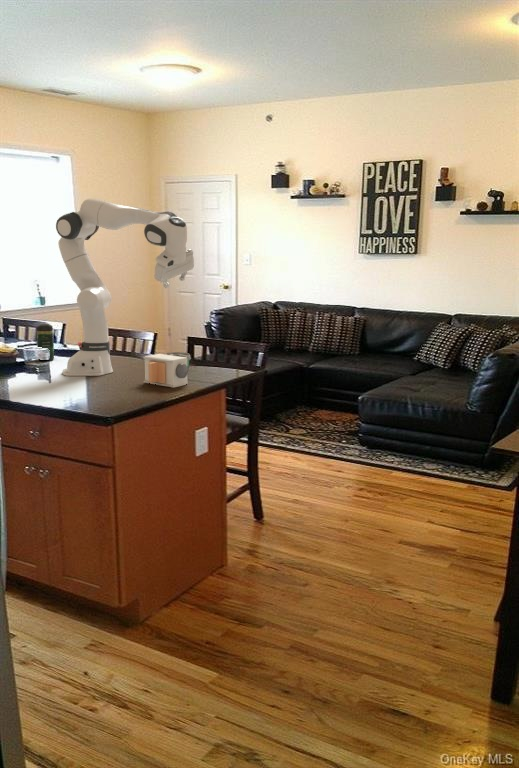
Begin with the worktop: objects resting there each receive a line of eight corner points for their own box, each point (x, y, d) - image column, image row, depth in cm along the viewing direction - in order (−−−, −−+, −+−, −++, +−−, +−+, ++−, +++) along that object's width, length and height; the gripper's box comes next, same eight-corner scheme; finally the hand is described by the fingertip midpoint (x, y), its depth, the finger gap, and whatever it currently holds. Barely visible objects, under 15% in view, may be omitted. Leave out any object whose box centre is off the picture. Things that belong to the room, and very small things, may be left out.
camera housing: (143, 383, 276) (143, 356, 274) (159, 379, 284) (159, 353, 282) (174, 388, 266) (174, 361, 264) (190, 384, 274) (190, 357, 272)
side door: (142, 382, 270) (142, 362, 268) (150, 380, 274) (150, 360, 272) (157, 384, 265) (157, 364, 264) (165, 383, 269) (165, 363, 268)
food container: (195, 375, 296) (195, 353, 294) (189, 377, 291) (188, 355, 289) (173, 372, 301) (172, 351, 299) (165, 374, 296) (165, 353, 294)
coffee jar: (54, 361, 325) (52, 324, 322) (38, 361, 323) (36, 324, 319) (54, 358, 334) (52, 322, 331) (38, 358, 332) (36, 322, 328)
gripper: (187, 245, 281) (186, 273, 290) (152, 259, 268) (151, 288, 277) (198, 251, 279) (196, 279, 287) (162, 265, 265) (161, 294, 274)
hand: (174, 283), depth 282 cm, fingers open, 8 cm apart
